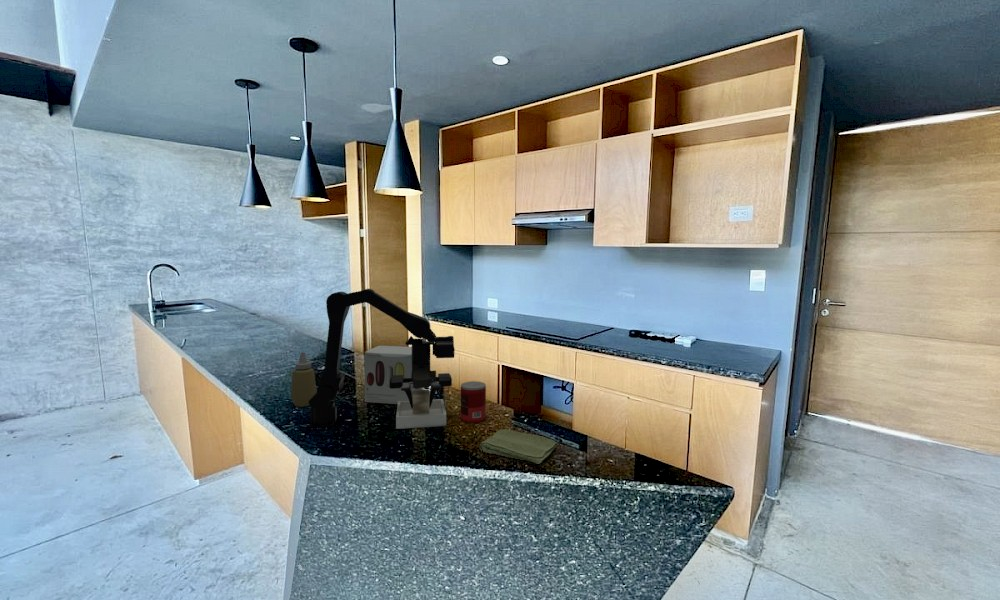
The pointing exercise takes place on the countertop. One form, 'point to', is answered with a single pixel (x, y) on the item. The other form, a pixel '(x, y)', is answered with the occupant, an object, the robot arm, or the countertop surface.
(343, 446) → the countertop surface
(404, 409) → the grey bin
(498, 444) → the washcloth
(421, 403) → the ash block
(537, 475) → the countertop surface
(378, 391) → the supplement box
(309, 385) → the squeeze bottle
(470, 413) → the canned food
